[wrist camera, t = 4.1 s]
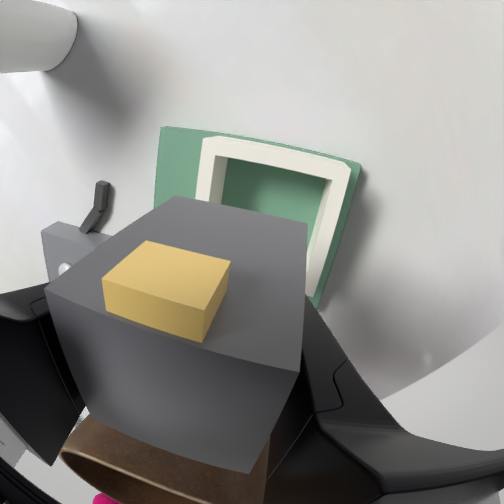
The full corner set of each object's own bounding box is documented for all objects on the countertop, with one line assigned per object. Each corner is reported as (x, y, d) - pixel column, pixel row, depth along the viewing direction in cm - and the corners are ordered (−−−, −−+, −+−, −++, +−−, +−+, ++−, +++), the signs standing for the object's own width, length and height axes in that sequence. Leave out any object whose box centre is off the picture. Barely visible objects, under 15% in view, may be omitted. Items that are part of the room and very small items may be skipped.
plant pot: (123, 298, 26) (19, 423, 11) (279, 280, 22) (231, 498, 8) (180, 400, 31) (131, 512, 17) (307, 400, 27) (290, 544, 13)
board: (315, 304, 22) (315, 338, 19) (157, 264, 23) (133, 289, 20) (358, 163, 17) (371, 173, 14) (167, 126, 18) (137, 129, 15)
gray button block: (117, 302, 26) (101, 319, 23) (66, 282, 27) (49, 296, 24) (112, 182, 21) (89, 191, 18) (55, 173, 21) (33, 181, 19)
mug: (92, 19, 15) (-23, -2, 4) (54, 85, 18) (-60, 97, 7) (46, -6, 13) (-44, -18, 3) (15, 49, 16) (-74, 54, 5)
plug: (278, 329, 11) (249, 473, 6) (171, 301, 11) (92, 418, 6) (312, 205, 9) (311, 341, 3) (177, 178, 9) (37, 258, 4)
